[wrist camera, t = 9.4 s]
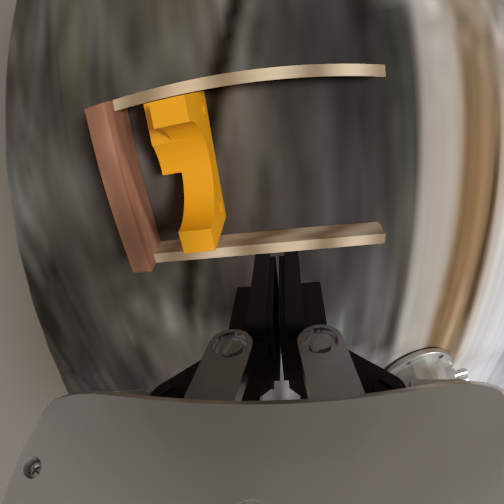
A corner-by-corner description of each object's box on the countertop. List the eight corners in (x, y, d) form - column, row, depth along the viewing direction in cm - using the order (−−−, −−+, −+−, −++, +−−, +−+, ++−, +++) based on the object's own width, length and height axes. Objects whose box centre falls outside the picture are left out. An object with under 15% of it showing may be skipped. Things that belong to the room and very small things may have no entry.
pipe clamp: (157, 100, 24) (126, 108, 19) (204, 90, 24) (184, 94, 18) (183, 220, 30) (164, 255, 25) (226, 215, 30) (215, 250, 24)
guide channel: (374, 65, 21) (391, 64, 18) (377, 230, 29) (389, 251, 26) (106, 103, 24) (84, 109, 21) (146, 251, 32) (133, 272, 29)
